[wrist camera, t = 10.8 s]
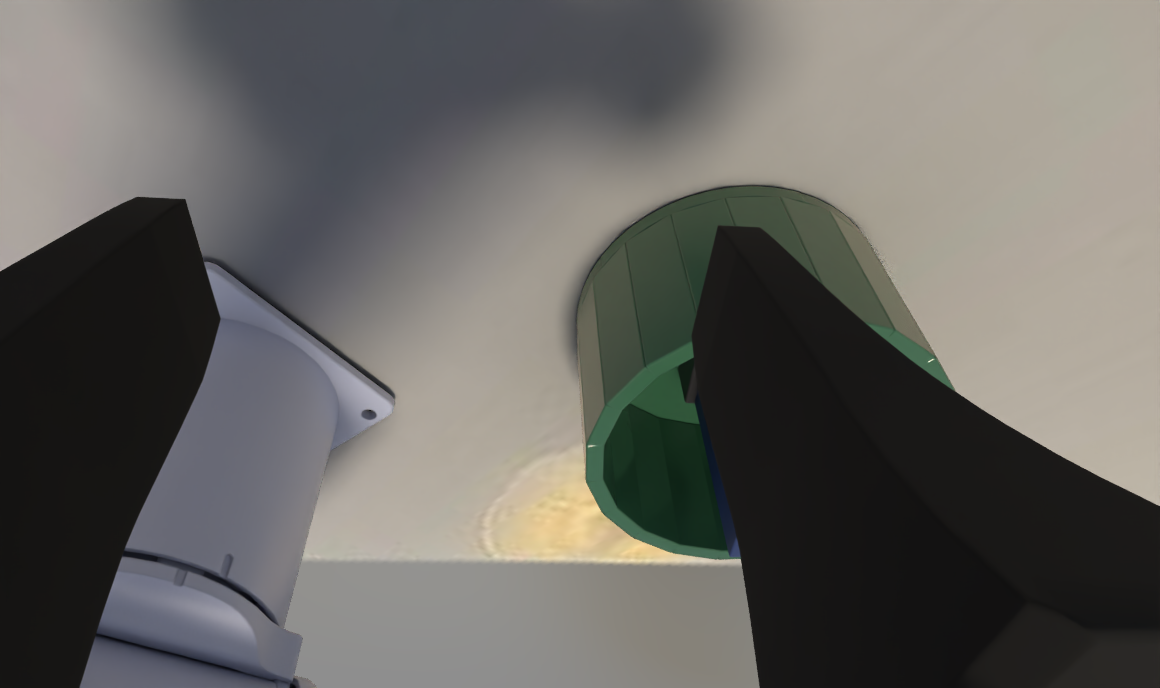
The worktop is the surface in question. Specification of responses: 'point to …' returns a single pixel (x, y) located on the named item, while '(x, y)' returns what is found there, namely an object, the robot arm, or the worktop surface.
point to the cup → (663, 342)
